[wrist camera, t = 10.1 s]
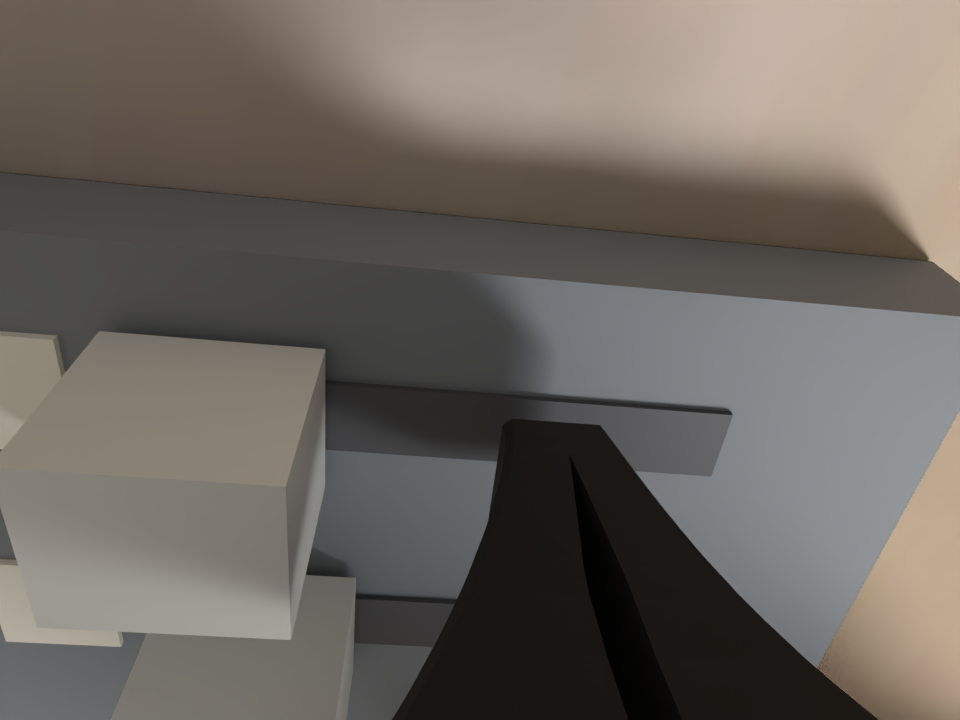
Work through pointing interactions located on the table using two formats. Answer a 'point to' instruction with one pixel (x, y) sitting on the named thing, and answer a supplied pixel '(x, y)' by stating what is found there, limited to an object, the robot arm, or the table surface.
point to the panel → (495, 393)
